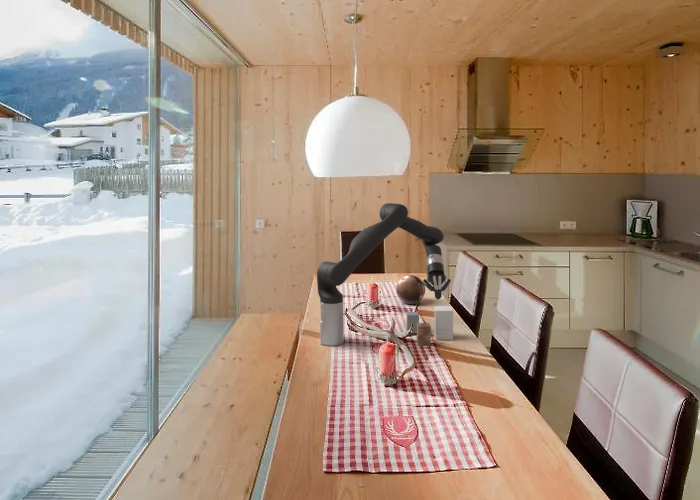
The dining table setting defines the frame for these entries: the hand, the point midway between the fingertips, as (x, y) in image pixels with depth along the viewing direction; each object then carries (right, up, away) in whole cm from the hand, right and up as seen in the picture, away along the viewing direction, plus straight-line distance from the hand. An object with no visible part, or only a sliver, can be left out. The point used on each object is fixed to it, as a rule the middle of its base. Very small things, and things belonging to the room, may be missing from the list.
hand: (438, 298), depth 234 cm
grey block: (-12, -14, -4) cm, 19 cm away
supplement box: (0, -15, -13) cm, 20 cm away
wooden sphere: (-7, -7, +43) cm, 45 cm away
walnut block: (-9, -16, -21) cm, 28 cm away
